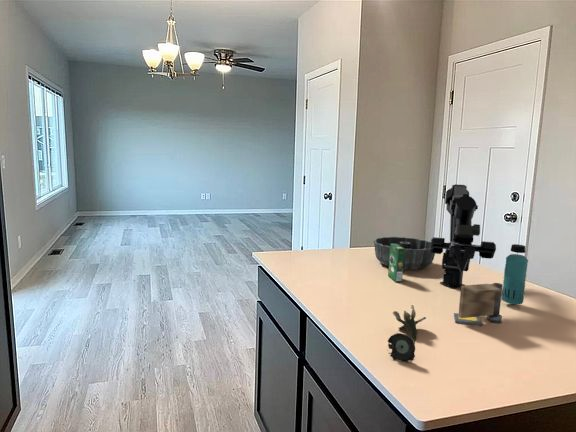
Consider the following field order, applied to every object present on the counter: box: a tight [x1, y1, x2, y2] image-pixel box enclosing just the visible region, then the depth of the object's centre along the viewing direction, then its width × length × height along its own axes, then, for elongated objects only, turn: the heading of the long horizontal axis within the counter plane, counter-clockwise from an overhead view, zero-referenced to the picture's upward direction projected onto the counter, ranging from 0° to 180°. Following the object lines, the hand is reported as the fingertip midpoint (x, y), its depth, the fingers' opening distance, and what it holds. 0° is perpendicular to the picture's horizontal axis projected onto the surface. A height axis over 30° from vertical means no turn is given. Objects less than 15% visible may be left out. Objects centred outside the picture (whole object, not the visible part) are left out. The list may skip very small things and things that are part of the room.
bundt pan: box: [372, 236, 436, 271], centre depth 185 cm, size 26×26×10 cm
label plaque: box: [453, 312, 483, 327], centre depth 126 cm, size 7×6×1 cm
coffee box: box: [387, 243, 405, 283], centre depth 163 cm, size 8×3×13 cm, turn 8°
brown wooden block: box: [458, 282, 503, 318], centre depth 122 cm, size 13×7×10 cm, turn 106°
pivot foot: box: [485, 313, 503, 324], centre depth 127 cm, size 4×4×2 cm
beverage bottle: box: [501, 243, 529, 305], centre depth 138 cm, size 6×7×20 cm
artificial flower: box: [387, 304, 427, 363], centre depth 111 cm, size 9×22×10 cm, turn 152°
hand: (461, 271), depth 132 cm, fingers closed
